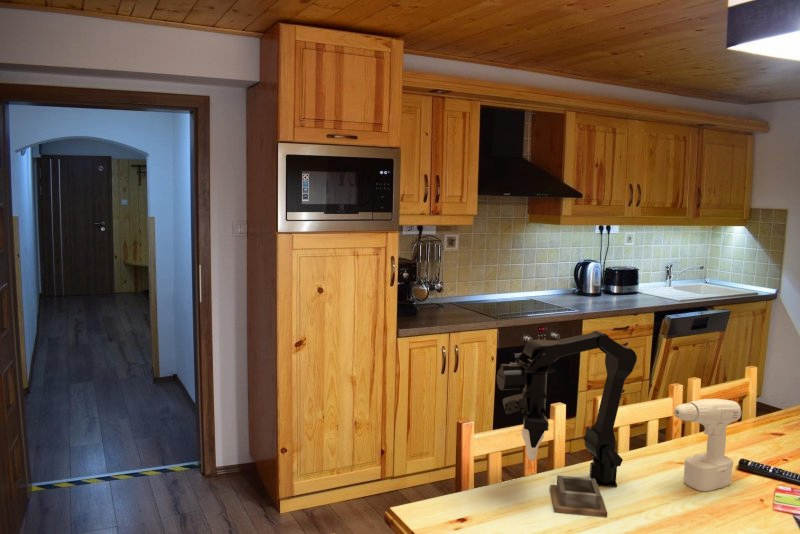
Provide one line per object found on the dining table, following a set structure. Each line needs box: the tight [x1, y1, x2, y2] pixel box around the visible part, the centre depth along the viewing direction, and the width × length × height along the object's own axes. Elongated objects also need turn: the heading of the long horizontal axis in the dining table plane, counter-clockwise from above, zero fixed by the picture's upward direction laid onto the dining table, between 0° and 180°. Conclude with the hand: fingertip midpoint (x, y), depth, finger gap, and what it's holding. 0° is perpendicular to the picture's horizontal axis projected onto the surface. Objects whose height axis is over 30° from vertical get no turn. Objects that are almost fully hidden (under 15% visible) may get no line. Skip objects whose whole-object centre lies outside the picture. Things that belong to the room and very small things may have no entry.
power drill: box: [673, 398, 742, 492], centre depth 180 cm, size 8×24×25 cm, turn 116°
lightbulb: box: [521, 425, 545, 462], centre depth 175 cm, size 6×6×11 cm
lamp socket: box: [549, 474, 608, 518], centre depth 169 cm, size 13×13×5 cm
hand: (532, 443), depth 176 cm, fingers closed on lightbulb, 6 cm apart
